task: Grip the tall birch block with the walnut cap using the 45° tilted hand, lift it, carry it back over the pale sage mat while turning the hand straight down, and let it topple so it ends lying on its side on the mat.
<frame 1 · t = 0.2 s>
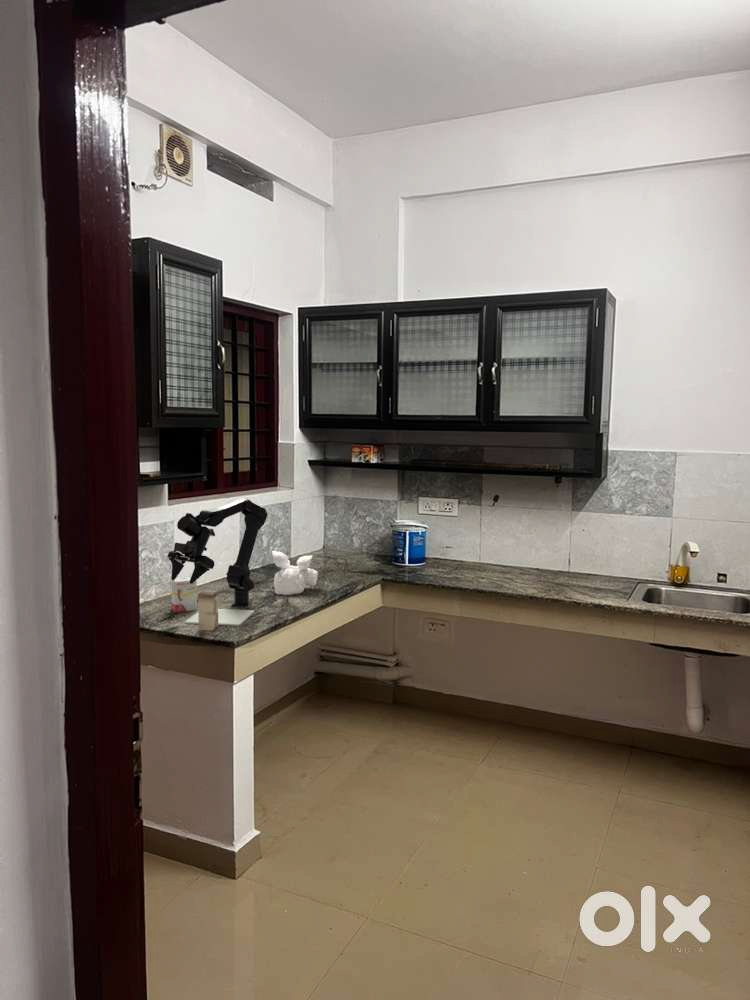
hand: (181, 581, 262), 15 cm above the counter, tool tilted 35°, fingers open, 9 cm apart
white tied bag bundle: (294, 590, 314), on the counter
birch block: (208, 627, 257), on the counter
sage mat: (220, 617, 270), on the counter
ink box: (184, 610, 280), on the counter
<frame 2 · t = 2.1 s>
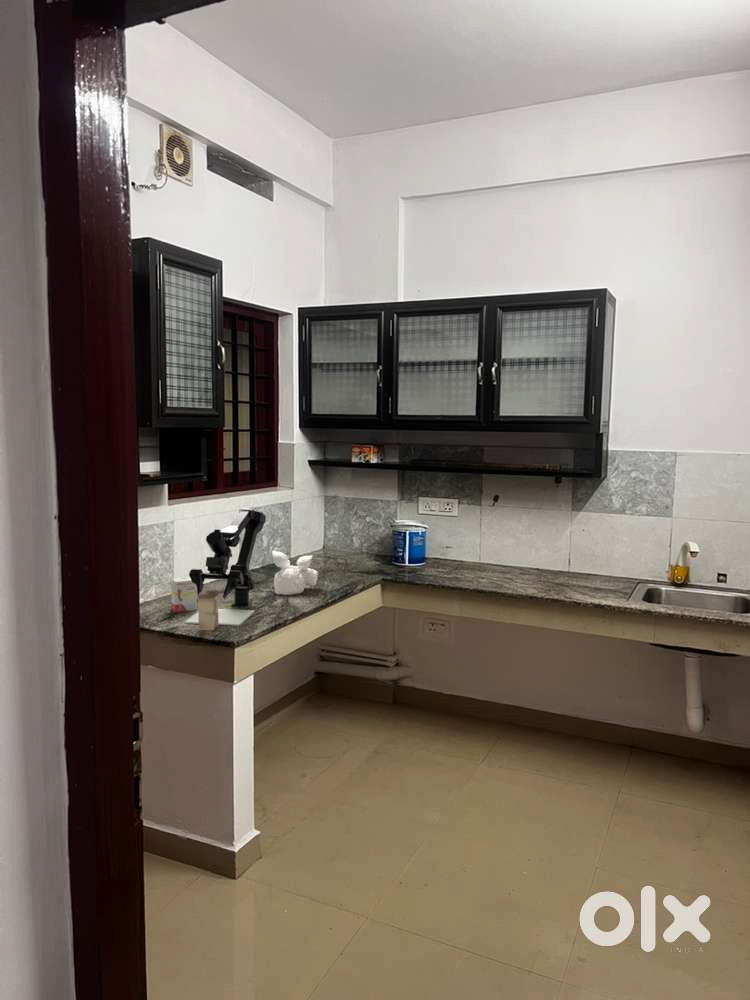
hand: (211, 597, 259), 10 cm above the counter, tool tilted 45°, fingers open, 9 cm apart
nothing on the counter moved.
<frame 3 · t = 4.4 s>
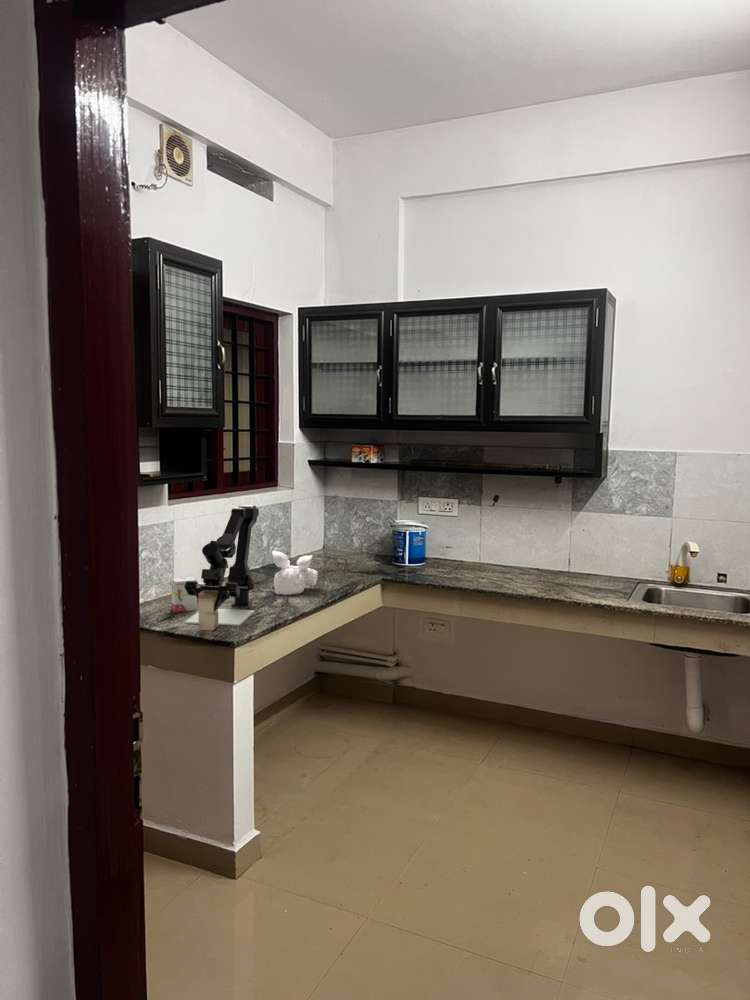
hand: (206, 609, 255), 7 cm above the counter, tool tilted 45°, fingers closed on birch block, 5 cm apart
birch block: (208, 627, 257), on the counter, touching gripper
everything else where it was.
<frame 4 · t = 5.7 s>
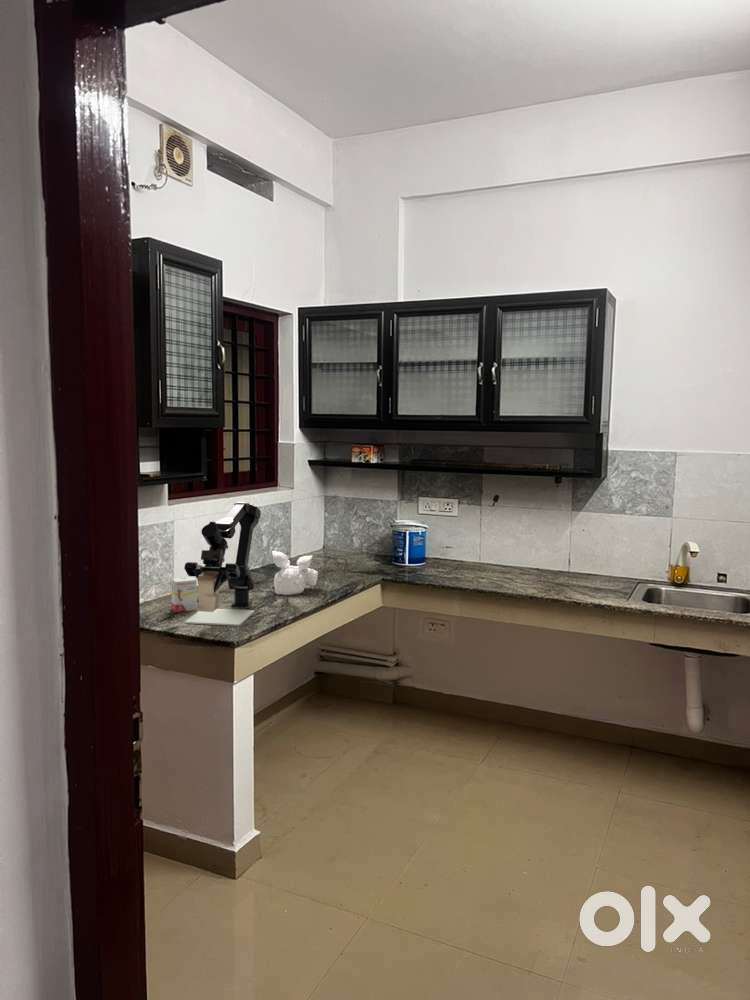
hand: (207, 591, 254), 13 cm above the counter, tool tilted 45°, fingers closed on birch block, 5 cm apart
birch block: (209, 609, 257), point 6 cm above the counter, touching gripper
everything else where it was.
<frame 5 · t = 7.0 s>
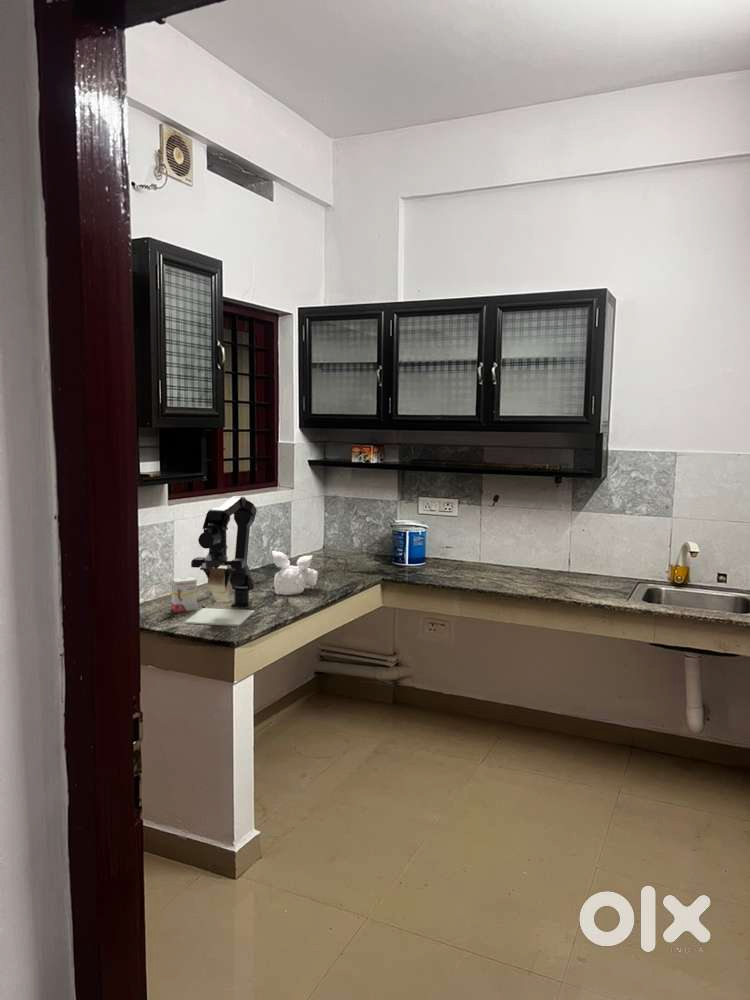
hand: (218, 586, 267), 12 cm above the counter, tool pointing down, fingers closed on birch block, 5 cm apart
birch block: (224, 594, 273), point 7 cm above the counter, tilted 42°, touching gripper
everything else where it was.
when the fingers open (8 cm above the counter, at t = 8.6 s): birch block moves 3 cm and tips over, resting on sage mat.
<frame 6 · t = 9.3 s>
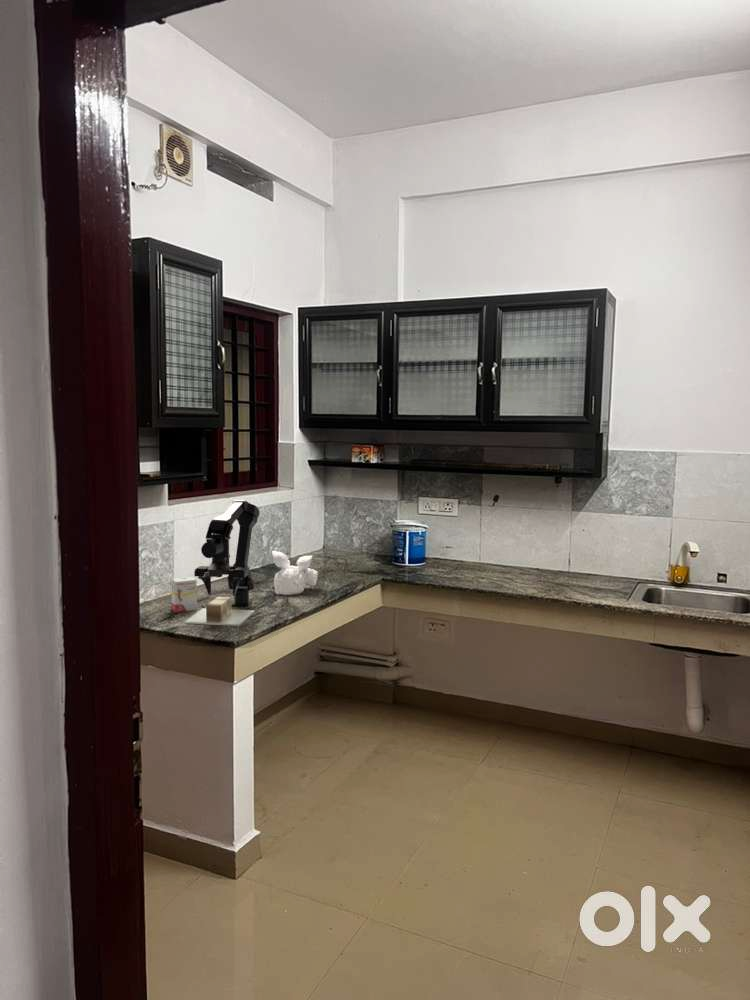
hand: (221, 595, 270), 8 cm above the counter, tool pointing down, fingers open, 9 cm apart
birch block: (224, 604, 274), point 4 cm above the counter, tilted 90°, touching sage mat
everything else where it was.
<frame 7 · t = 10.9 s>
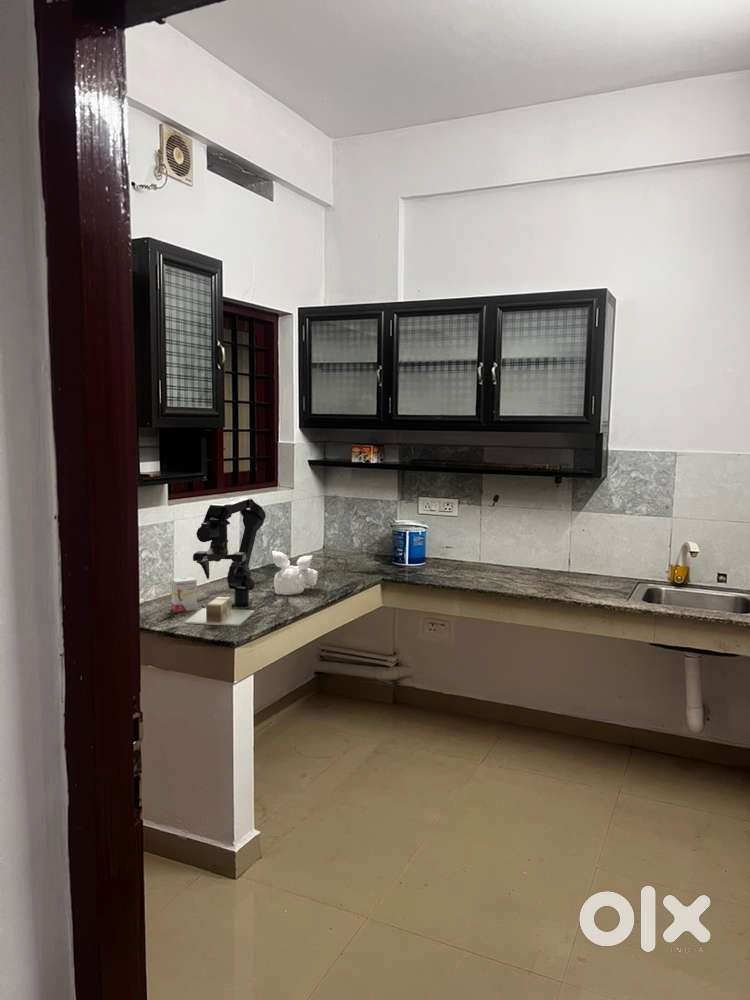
hand: (220, 579, 274), 13 cm above the counter, tool pointing down, fingers open, 9 cm apart
nothing on the counter moved.
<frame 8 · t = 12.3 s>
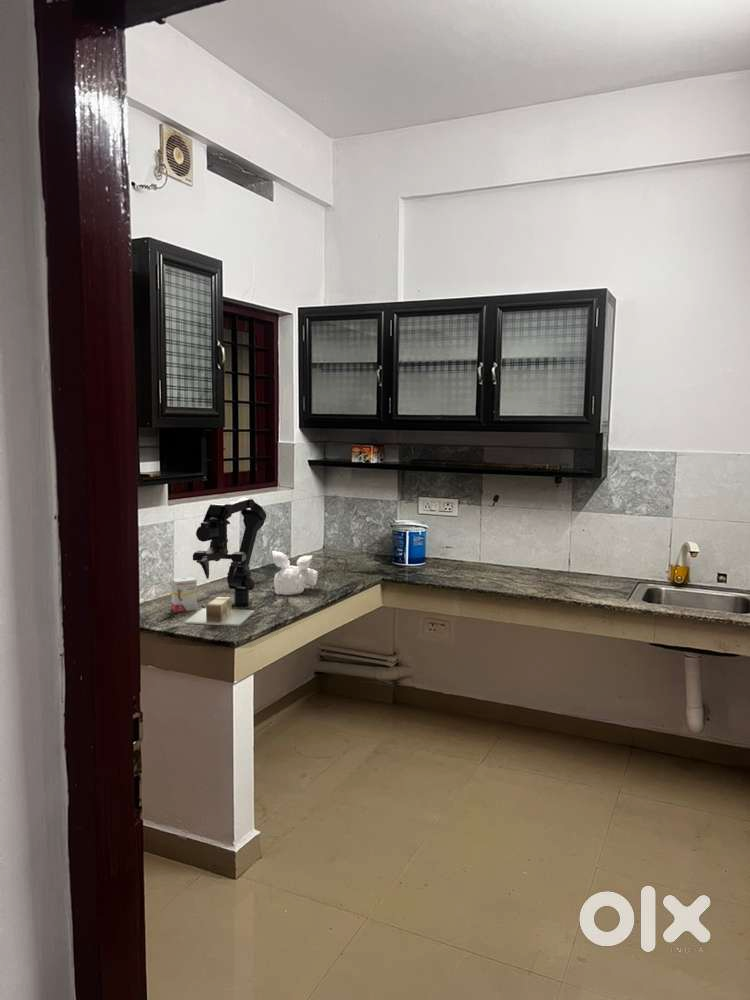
hand: (219, 579, 274), 13 cm above the counter, tool pointing down, fingers open, 9 cm apart
nothing on the counter moved.
at the end: birch block tilted 90°; birch block inside the target area on the sage mat (4.4 cm from its centre), point 3.6 cm above the sage mat's base; the gripper is holding nothing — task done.
